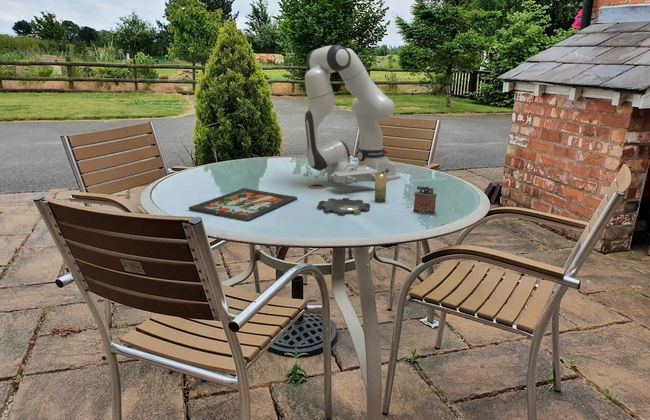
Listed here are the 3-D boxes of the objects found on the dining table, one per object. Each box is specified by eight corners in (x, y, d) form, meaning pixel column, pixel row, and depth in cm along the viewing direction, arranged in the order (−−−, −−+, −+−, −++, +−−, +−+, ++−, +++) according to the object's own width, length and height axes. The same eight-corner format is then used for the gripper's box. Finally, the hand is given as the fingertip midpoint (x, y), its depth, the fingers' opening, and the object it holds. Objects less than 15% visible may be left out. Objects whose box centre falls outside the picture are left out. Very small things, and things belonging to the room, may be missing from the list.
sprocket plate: (352, 198, 197) (352, 195, 196) (380, 211, 180) (380, 208, 180) (308, 204, 188) (308, 201, 187) (333, 218, 171) (334, 214, 171)
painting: (299, 201, 196) (299, 196, 195) (249, 225, 166) (249, 218, 165) (242, 191, 207) (242, 186, 206) (186, 212, 177) (185, 205, 176)
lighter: (435, 212, 180) (437, 186, 177) (434, 214, 177) (436, 188, 174) (413, 210, 183) (415, 184, 180) (412, 212, 179) (414, 186, 177)
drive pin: (381, 199, 197) (382, 172, 194) (387, 201, 193) (389, 174, 190) (372, 200, 195) (373, 173, 192) (378, 203, 191) (379, 175, 188)
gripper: (327, 168, 207) (344, 174, 196) (367, 164, 217) (385, 170, 205) (327, 182, 209) (343, 189, 197) (367, 178, 218) (385, 184, 207)
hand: (365, 179), depth 201 cm, fingers open, 8 cm apart
